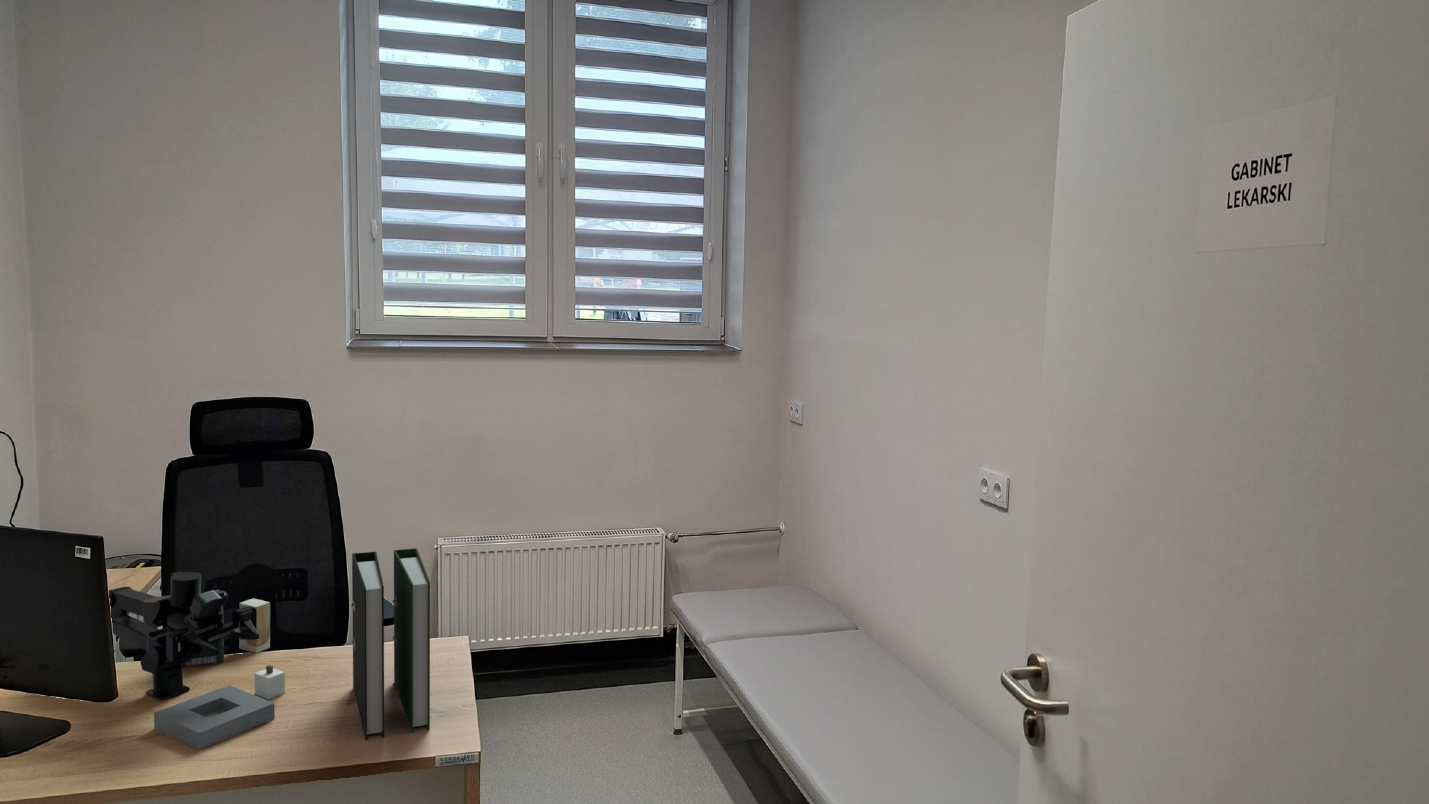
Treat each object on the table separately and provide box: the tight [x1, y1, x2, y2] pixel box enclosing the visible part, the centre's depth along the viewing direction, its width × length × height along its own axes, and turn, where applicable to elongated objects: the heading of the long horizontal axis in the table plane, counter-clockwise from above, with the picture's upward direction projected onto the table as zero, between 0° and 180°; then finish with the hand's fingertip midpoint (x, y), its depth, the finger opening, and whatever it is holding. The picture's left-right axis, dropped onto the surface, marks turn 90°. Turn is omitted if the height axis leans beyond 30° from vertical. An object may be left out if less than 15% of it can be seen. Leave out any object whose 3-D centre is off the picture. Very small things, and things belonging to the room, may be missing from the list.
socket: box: [153, 685, 276, 751], centre depth 184 cm, size 16×16×4 cm
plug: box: [254, 664, 286, 700], centre depth 199 cm, size 5×4×6 cm
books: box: [349, 547, 431, 741], centre depth 193 cm, size 27×15×32 cm, turn 26°
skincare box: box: [238, 597, 271, 654], centre depth 224 cm, size 6×4×12 cm
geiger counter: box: [182, 605, 229, 669], centre depth 214 cm, size 10×4×15 cm, turn 113°
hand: (238, 644), depth 185 cm, fingers open, 9 cm apart
